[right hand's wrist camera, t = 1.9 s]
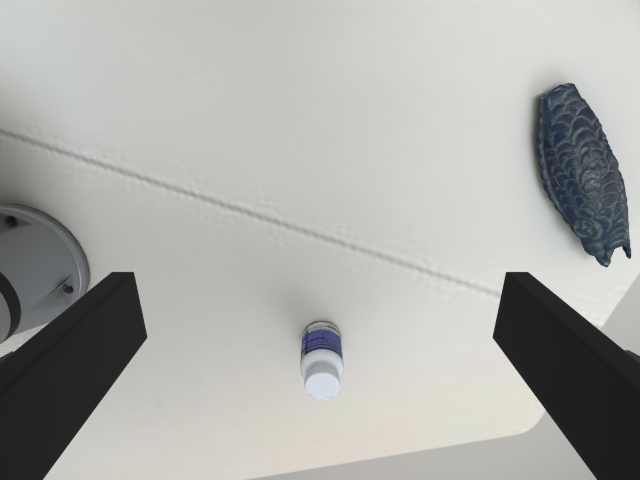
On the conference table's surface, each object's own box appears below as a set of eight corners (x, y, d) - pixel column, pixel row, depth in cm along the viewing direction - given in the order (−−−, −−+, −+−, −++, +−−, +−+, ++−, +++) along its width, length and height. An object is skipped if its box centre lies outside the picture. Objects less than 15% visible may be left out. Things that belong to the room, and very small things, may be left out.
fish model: (565, 266, 44) (594, 285, 40) (511, 107, 38) (539, 107, 33) (619, 242, 43) (656, 258, 38) (574, 74, 37) (612, 69, 32)
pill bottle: (297, 325, 47) (293, 372, 39) (336, 317, 47) (339, 363, 39) (308, 357, 49) (305, 408, 41) (345, 349, 49) (350, 399, 40)
